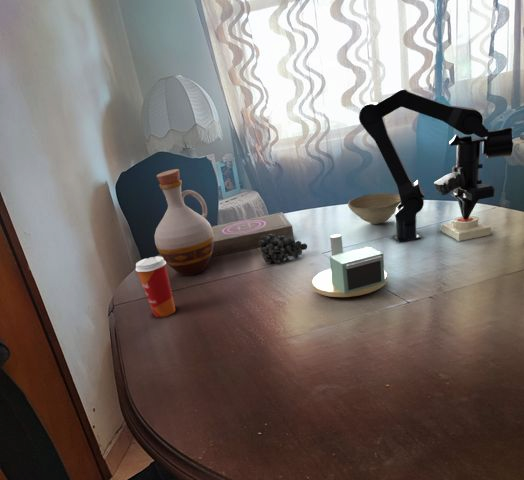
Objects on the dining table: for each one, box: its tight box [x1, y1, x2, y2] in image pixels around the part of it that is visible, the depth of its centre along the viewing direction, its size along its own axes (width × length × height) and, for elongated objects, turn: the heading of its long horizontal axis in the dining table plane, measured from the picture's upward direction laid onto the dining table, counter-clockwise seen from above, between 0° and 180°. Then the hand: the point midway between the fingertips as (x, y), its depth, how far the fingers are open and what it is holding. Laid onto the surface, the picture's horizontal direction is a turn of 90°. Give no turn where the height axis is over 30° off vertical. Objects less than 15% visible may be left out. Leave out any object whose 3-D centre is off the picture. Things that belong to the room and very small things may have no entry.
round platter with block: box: [311, 233, 388, 298], centre depth 110 cm, size 18×19×10 cm
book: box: [210, 212, 295, 258], centre depth 165 cm, size 30×22×5 cm
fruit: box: [256, 234, 308, 265], centre depth 138 cm, size 9×8×15 cm
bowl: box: [347, 192, 401, 225], centre depth 156 cm, size 18×18×8 cm
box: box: [441, 215, 492, 242], centre depth 132 cm, size 11×9×4 cm
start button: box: [459, 217, 473, 222], centre depth 132 cm, size 4×4×2 cm
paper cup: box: [135, 255, 176, 318], centre depth 116 cm, size 8×8×14 cm
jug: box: [154, 168, 213, 276], centre depth 140 cm, size 20×18×30 cm
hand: (465, 219), depth 131 cm, fingers closed, pressing on start button
